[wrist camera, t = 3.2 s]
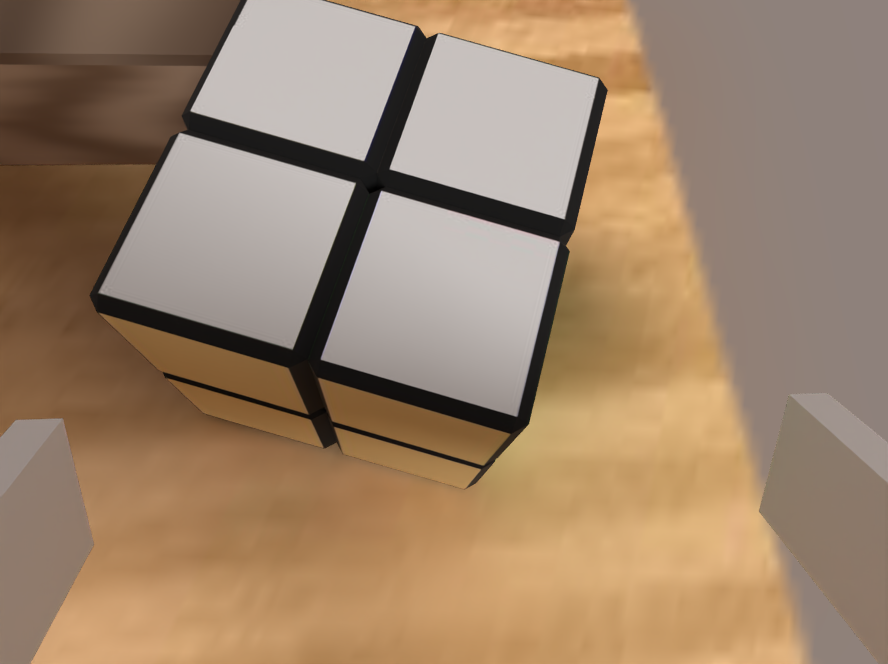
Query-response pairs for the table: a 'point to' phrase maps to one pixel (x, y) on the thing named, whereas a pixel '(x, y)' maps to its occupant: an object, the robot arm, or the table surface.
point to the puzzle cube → (359, 236)
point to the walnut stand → (100, 76)
